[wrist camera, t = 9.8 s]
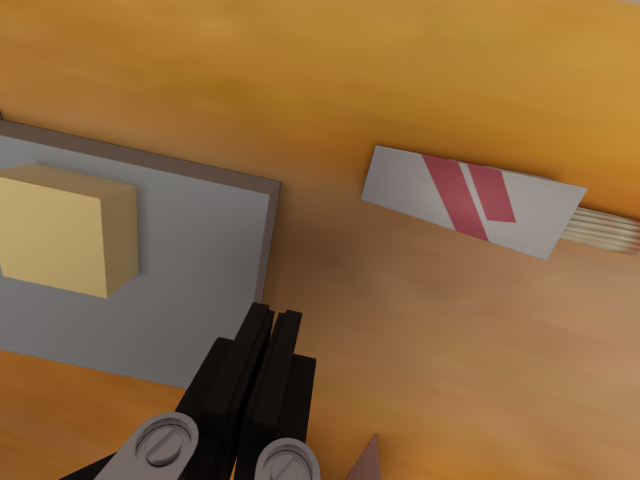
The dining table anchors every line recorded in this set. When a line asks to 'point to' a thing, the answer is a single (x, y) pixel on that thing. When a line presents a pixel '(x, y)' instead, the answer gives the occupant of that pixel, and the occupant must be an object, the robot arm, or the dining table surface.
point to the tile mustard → (67, 229)
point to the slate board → (147, 263)
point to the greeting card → (367, 464)
